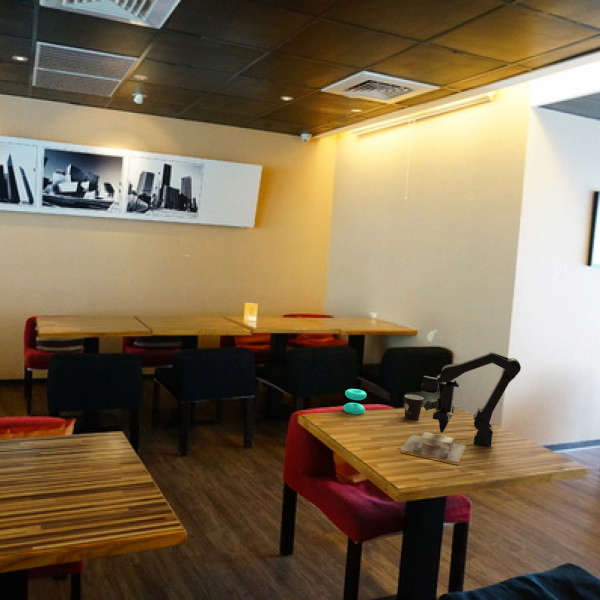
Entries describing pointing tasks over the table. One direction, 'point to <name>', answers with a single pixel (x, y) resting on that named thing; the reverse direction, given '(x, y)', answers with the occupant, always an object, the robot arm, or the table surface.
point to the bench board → (433, 450)
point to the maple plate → (436, 440)
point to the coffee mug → (412, 406)
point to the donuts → (355, 407)
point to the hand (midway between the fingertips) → (441, 432)
